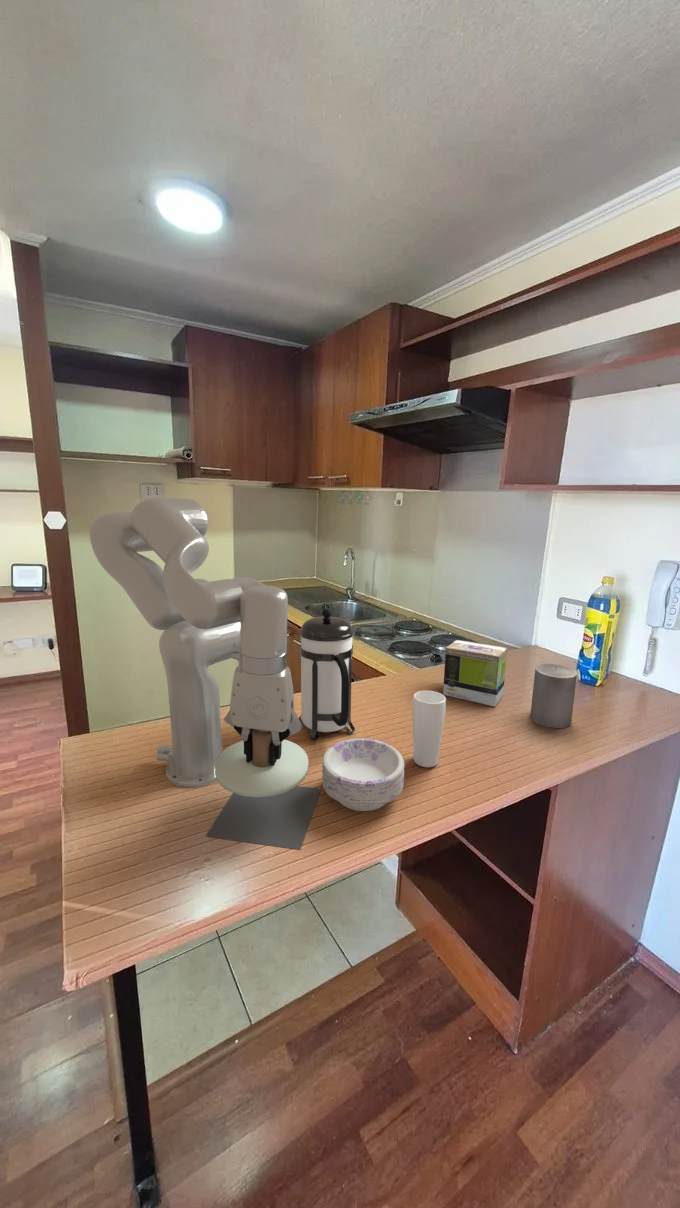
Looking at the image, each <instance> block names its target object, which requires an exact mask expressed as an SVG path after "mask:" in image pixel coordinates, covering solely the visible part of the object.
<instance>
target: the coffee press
mask: <svg viewBox="0 0 680 1208" xmlns="http://www.w3.org/2000/svg"><path fill="white" fill-rule="evenodd" d="M332 613H333V612H332V611H331V609H330V608H324V609H323V610H322V612H321V615H322V616H316V617H311V618H309V619H307V620H306V621H304V622H303V623H302V626H301V628H299V630H298V633H299V636H300V645H299V654H300V663H301V664H300V677H301V678H300V691H301V695H300V696H301V697H300V698H301V699H300V700H301V701H300V702H301V705H300V706H301V709H300V711H301V714H300V716H299V717H298V718H299V720H300V722H301V724H302V725H304V726H305V728H308V729H310V730H311V732H310V734H309V740H310V741H315V742H317V740H318V738H319V735H320V733H331V732H336V731H337V732H338V731H341V730H343V729H344V730H345V732H346V733H347V734H348V735H353V734H354V732H355V731H356V728H355V726H354V725H353V723H352V720H351V719H352V718H351V717H352V715H351V714H352V713H351V711H352V710H351V709H352V674H353V673H352V671H353V670H352V667H353V666H352V665H353V658H352V657H353V653H354V645H353V637H354V635H355V630H354V628H352V625H351V624H350V622H349V621H347V620H346V619H343V618H342V617H336V616H332ZM347 725H348V726H349V727H348V726H347ZM350 729H351V730H352V731H351V730H350Z"/></svg>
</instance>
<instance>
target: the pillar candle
mask: <svg viewBox="0 0 680 1208" xmlns="http://www.w3.org/2000/svg"><path fill="white" fill-rule="evenodd" d="M534 669H535V670H534V676H533V678H534V680H533V687H532V696H531V706H530V714H529V717H530V719H531V720H532V721H533V722H534V723H536V724H538V725H540V726H543V727H546V728H555V729H566V728H568V727H570V726H571V723H572V719H573V713H574V705H575V704H574V702H575V693H576V686H577V685H576V684H577V679H578V678H577V677H578V672H577V671H576V670H575V669H573V668H572V667H569V666H566V665H563V664H562V665H561V664H556V663H540V664H538V665H536V666H535V668H534Z"/></svg>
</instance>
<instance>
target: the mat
mask: <svg viewBox="0 0 680 1208" xmlns="http://www.w3.org/2000/svg"><path fill="white" fill-rule="evenodd" d="M321 790H322V788H317V787H310V786H301V785H297V786H296V787H295V788H293V789H291V790H289V791H287V792H285V793H282V794H278V795H274V796H268V797H247V796H242V795H238V794H235V793H232V794H231V796H229V799H228V800H227V802H226V803H225V805H224V806H223V807H222V809H221V811H220V813H219V814H218V815H217V817H216V819H215V820H214V822H213V824H212V825H211V827H210V828H209V830H208V831H207V833H206V835H205V838H212V839H219V840H227V841H234V842H241V843H247V844H255V845H261V846H263V845H264V846H269V847H276V848H277V847H278V848H283V849H291V850H297V851H298V850H299V851H301V849H302V846H303V844H304V840H305V837H306V835H307V831H308V829H309V826H310V823H311V819H312V816H313V814H314V811H315V808H316V805H317V802H318V799H319V796H320V794H321V792H322V791H321Z"/></svg>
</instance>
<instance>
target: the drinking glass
mask: <svg viewBox="0 0 680 1208" xmlns="http://www.w3.org/2000/svg"><path fill="white" fill-rule="evenodd" d="M412 698H413V699H412V710H411V711H412V718H411V719H412V738H413V739H412V740H413V742H412V744H413V745H412V746H413V753H412V755H413V757H412V759H413V762H414V763H415V764H416V765H417V766H419V767H422V768H433V767H435V766H437V765H438V763H439V759H440V750H441V744H442V738H443V731H444V725H445V720H446V709H447V707H446V705H447V704H446V703H447V697H446V695H443V693H440V692H437V691H433V690H419V691H417V692H415V693H414V694H413V697H412Z"/></svg>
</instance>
